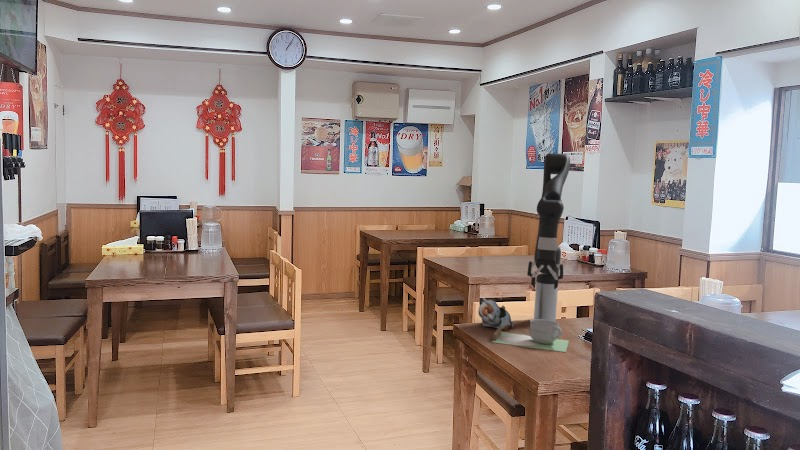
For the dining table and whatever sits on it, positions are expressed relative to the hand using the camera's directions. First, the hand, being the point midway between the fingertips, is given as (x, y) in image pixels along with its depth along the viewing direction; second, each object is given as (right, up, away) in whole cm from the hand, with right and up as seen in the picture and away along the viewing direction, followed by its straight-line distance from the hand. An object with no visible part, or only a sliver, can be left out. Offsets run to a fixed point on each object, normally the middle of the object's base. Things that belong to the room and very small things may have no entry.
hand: (544, 287), depth 255 cm
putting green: (-9, -19, -18) cm, 28 cm away
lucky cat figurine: (-20, -17, +1) cm, 26 cm away
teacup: (-4, -19, -20) cm, 28 cm away
